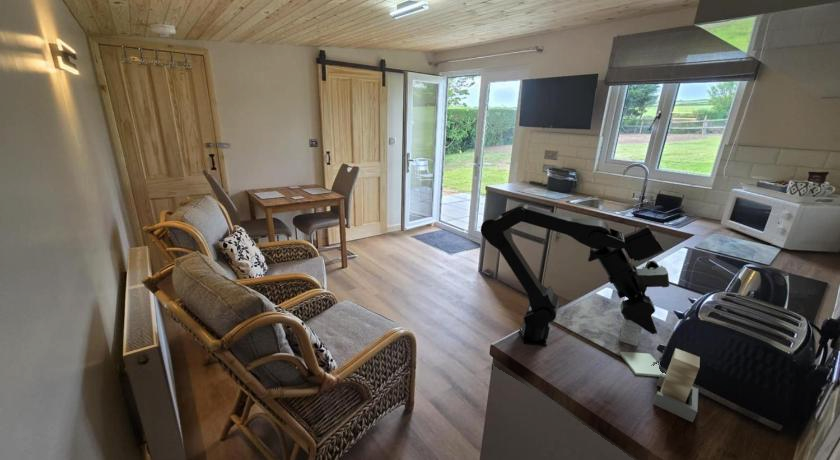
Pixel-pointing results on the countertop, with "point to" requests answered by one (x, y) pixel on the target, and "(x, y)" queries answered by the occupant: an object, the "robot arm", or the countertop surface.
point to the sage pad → (641, 364)
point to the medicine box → (630, 332)
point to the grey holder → (678, 402)
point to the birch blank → (680, 375)
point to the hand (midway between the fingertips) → (651, 323)
